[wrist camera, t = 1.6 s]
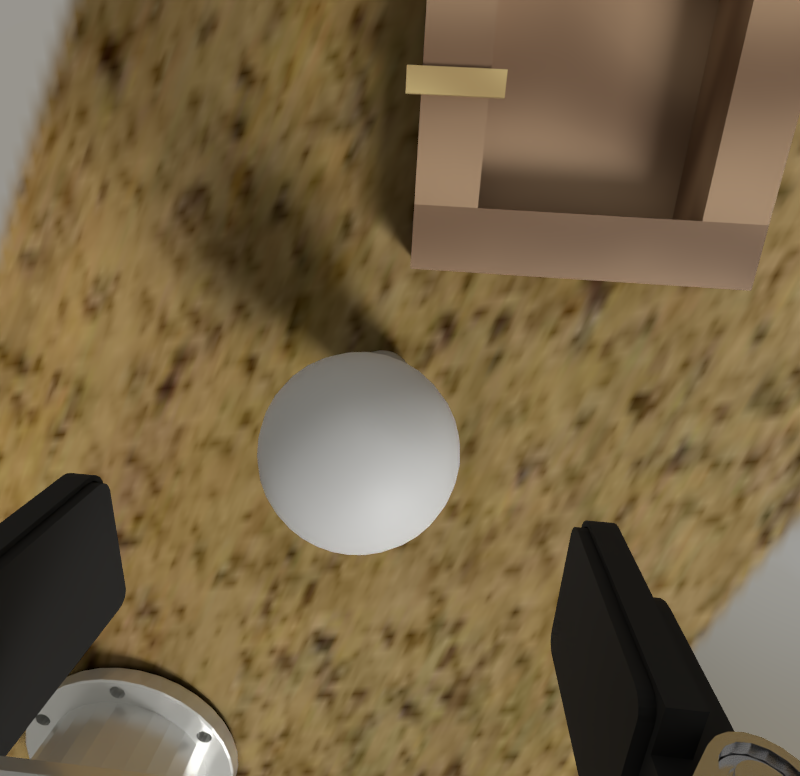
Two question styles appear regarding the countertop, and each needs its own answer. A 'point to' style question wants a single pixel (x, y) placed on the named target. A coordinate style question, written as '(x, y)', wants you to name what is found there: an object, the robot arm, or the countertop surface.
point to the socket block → (603, 137)
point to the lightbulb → (358, 453)
